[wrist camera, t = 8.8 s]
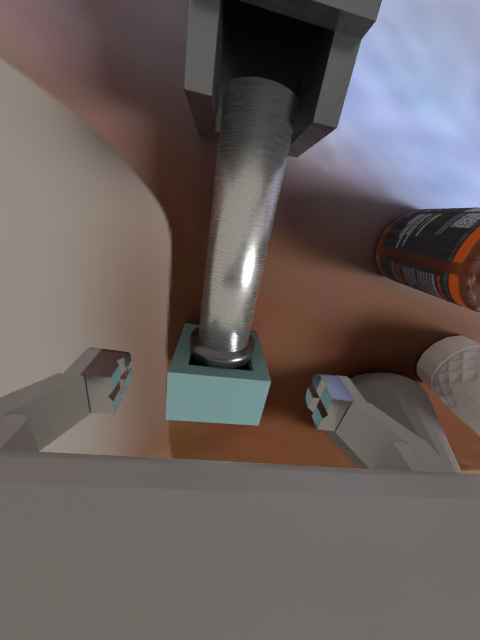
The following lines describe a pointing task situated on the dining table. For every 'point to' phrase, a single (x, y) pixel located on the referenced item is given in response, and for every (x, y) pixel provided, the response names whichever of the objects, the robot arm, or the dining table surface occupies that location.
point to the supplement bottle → (435, 253)
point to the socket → (216, 387)
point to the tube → (242, 215)
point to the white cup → (454, 376)
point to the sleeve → (276, 56)
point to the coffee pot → (401, 413)
